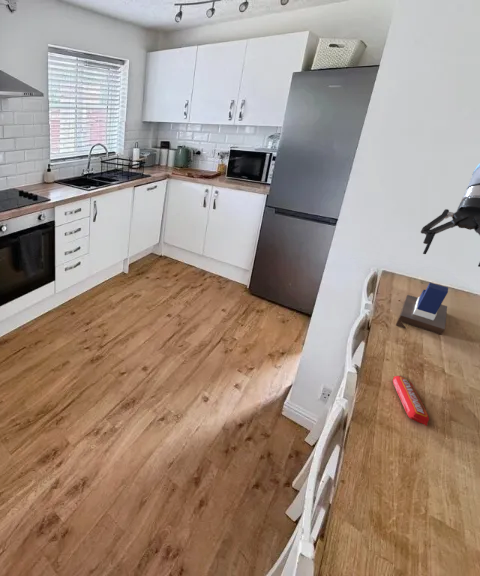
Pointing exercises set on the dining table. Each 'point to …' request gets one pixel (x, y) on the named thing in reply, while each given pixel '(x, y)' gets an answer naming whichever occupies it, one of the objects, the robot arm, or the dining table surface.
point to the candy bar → (410, 400)
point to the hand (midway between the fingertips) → (452, 258)
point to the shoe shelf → (421, 322)
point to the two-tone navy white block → (430, 301)
